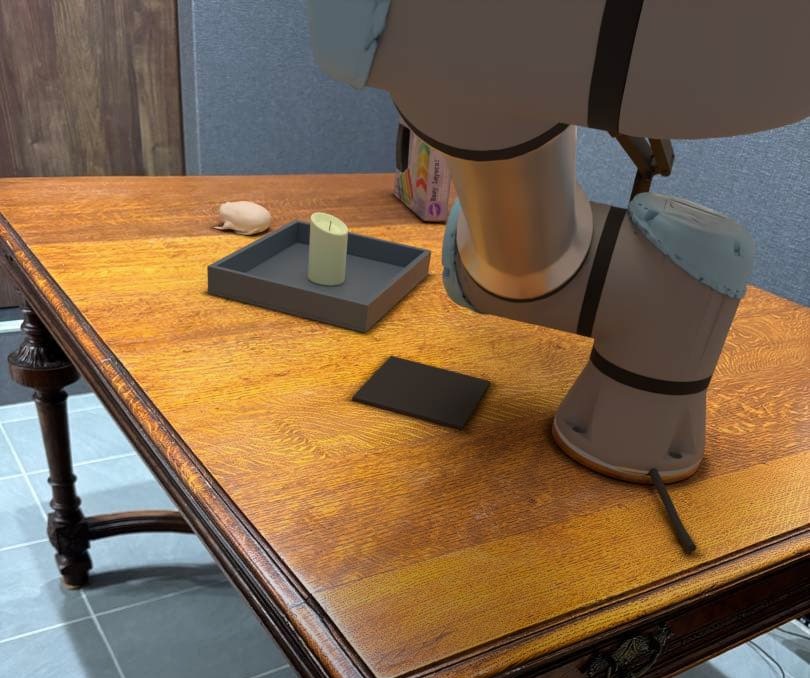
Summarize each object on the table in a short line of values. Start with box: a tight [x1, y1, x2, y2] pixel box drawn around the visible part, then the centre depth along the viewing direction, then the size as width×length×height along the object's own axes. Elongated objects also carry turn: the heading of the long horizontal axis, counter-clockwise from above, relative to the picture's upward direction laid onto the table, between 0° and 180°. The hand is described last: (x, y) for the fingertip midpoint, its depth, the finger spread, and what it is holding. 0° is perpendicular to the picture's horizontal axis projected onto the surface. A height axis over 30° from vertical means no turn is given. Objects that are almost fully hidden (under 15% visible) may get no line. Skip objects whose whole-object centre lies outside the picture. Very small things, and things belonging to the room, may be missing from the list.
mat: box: [351, 355, 491, 430], centre depth 88 cm, size 12×12×1 cm
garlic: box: [213, 200, 272, 236], centre depth 124 cm, size 8×7×4 cm
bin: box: [206, 219, 432, 334], centre depth 110 cm, size 26×22×4 cm
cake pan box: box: [393, 113, 452, 223], centre depth 142 cm, size 19×5×18 cm, turn 17°
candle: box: [308, 212, 349, 286], centre depth 108 cm, size 5×5×8 cm
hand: (575, 200), depth 99 cm, fingers open, 13 cm apart
